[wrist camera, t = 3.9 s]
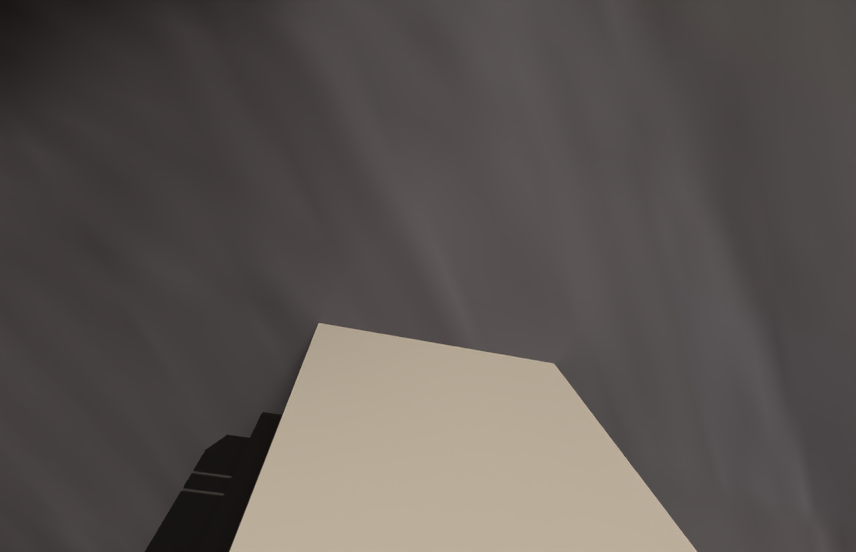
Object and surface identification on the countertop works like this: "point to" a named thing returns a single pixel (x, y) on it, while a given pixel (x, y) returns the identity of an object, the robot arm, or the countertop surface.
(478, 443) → the cream block
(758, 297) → the countertop surface
